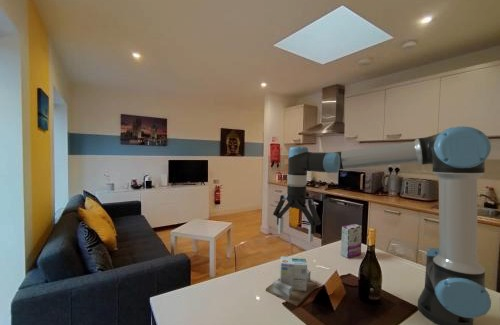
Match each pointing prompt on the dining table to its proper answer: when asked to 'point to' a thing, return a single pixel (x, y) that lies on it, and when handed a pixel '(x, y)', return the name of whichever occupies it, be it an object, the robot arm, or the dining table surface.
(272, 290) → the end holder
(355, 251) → the candy bar box
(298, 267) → the light bulb box
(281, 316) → the dining table surface
